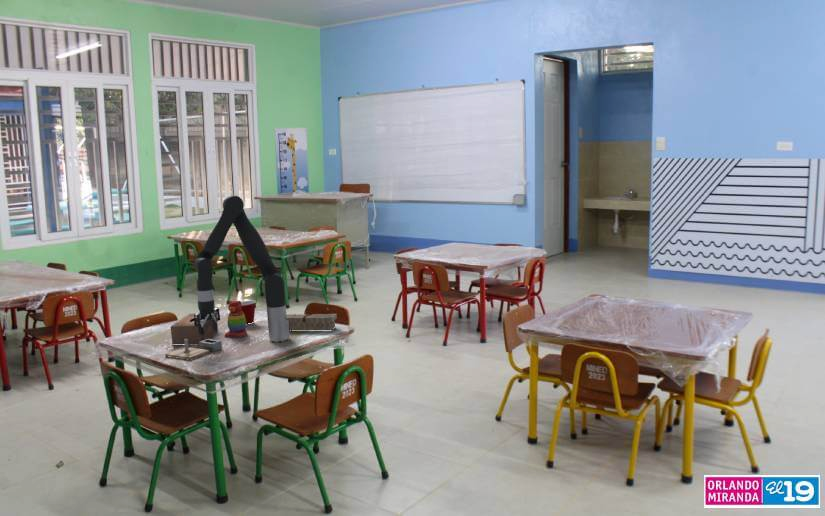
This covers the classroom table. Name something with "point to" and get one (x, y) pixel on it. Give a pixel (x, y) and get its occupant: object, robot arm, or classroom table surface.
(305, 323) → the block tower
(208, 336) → the tissue box cover
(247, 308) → the plastic cup
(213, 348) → the grey storage bin
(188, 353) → the keeper board
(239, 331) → the stacking bear
